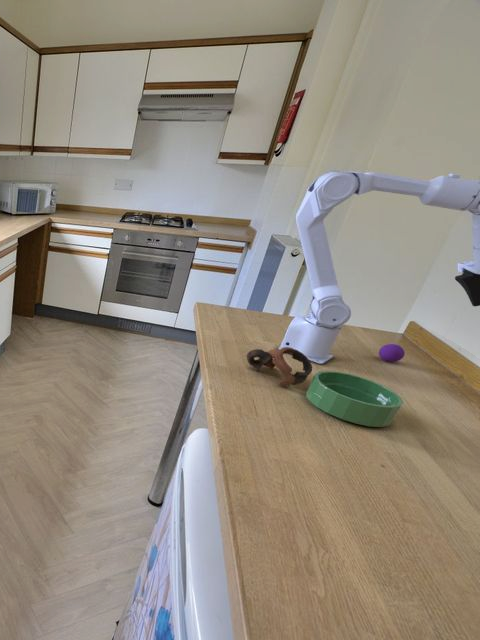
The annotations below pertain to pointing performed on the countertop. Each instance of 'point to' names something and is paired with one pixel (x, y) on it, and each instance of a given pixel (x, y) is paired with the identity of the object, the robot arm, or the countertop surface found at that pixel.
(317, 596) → the countertop surface
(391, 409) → the bowl
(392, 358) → the ball
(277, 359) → the brown curved loop
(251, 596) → the countertop surface
